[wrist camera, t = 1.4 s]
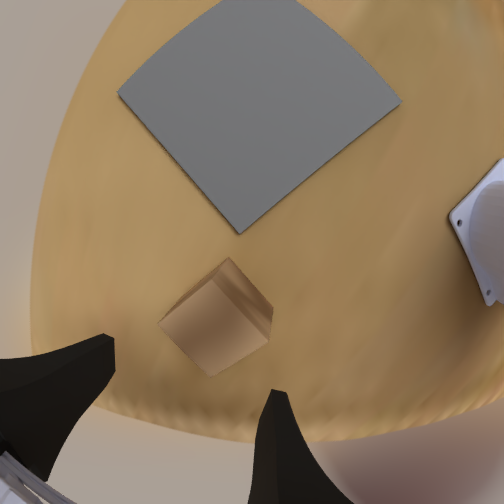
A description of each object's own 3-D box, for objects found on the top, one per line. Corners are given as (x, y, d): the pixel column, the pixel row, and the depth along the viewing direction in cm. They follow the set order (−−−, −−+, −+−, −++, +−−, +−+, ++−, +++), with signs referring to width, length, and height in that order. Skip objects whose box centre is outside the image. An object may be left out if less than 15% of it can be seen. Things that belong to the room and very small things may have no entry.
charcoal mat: (399, 103, 15) (402, 101, 14) (240, 232, 18) (239, 234, 18) (261, -19, 13) (260, -23, 13) (120, 93, 17) (116, 91, 16)
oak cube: (273, 306, 19) (269, 341, 15) (225, 340, 20) (210, 377, 16) (229, 256, 19) (211, 279, 14) (183, 295, 20) (157, 324, 15)
